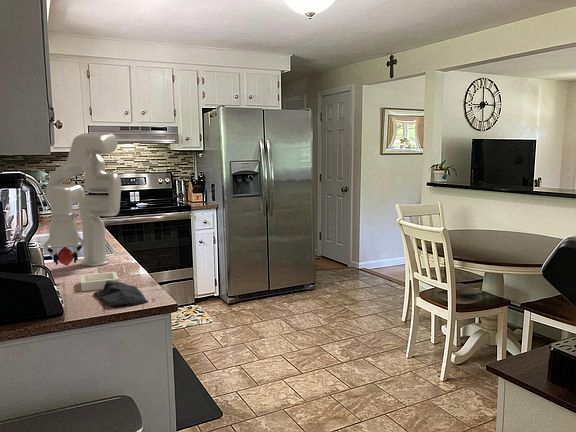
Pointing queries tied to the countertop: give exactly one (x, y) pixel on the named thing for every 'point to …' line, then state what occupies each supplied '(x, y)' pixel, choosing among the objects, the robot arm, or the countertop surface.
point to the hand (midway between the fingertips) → (66, 262)
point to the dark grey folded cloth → (120, 294)
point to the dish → (97, 280)
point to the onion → (65, 256)
